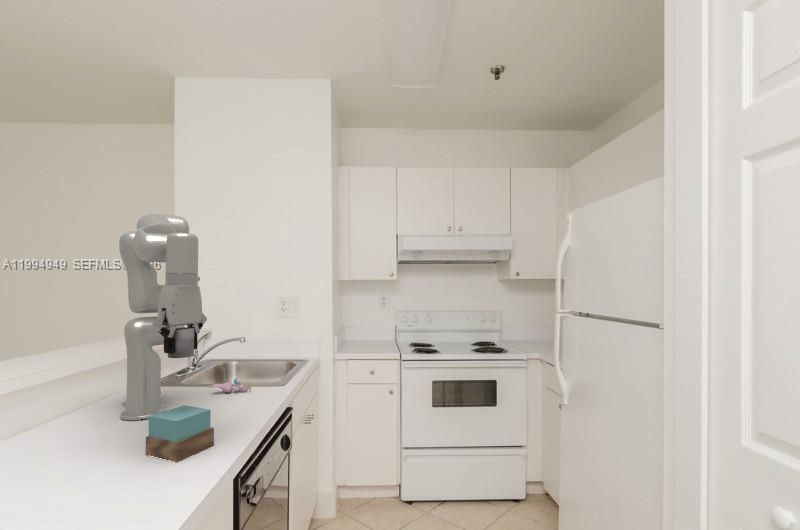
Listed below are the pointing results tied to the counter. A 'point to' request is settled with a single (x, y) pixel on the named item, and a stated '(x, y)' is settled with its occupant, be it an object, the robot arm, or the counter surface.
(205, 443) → the walnut base block
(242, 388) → the pink patterned figure
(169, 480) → the counter surface
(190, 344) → the charcoal cylinder
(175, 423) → the teal top block
